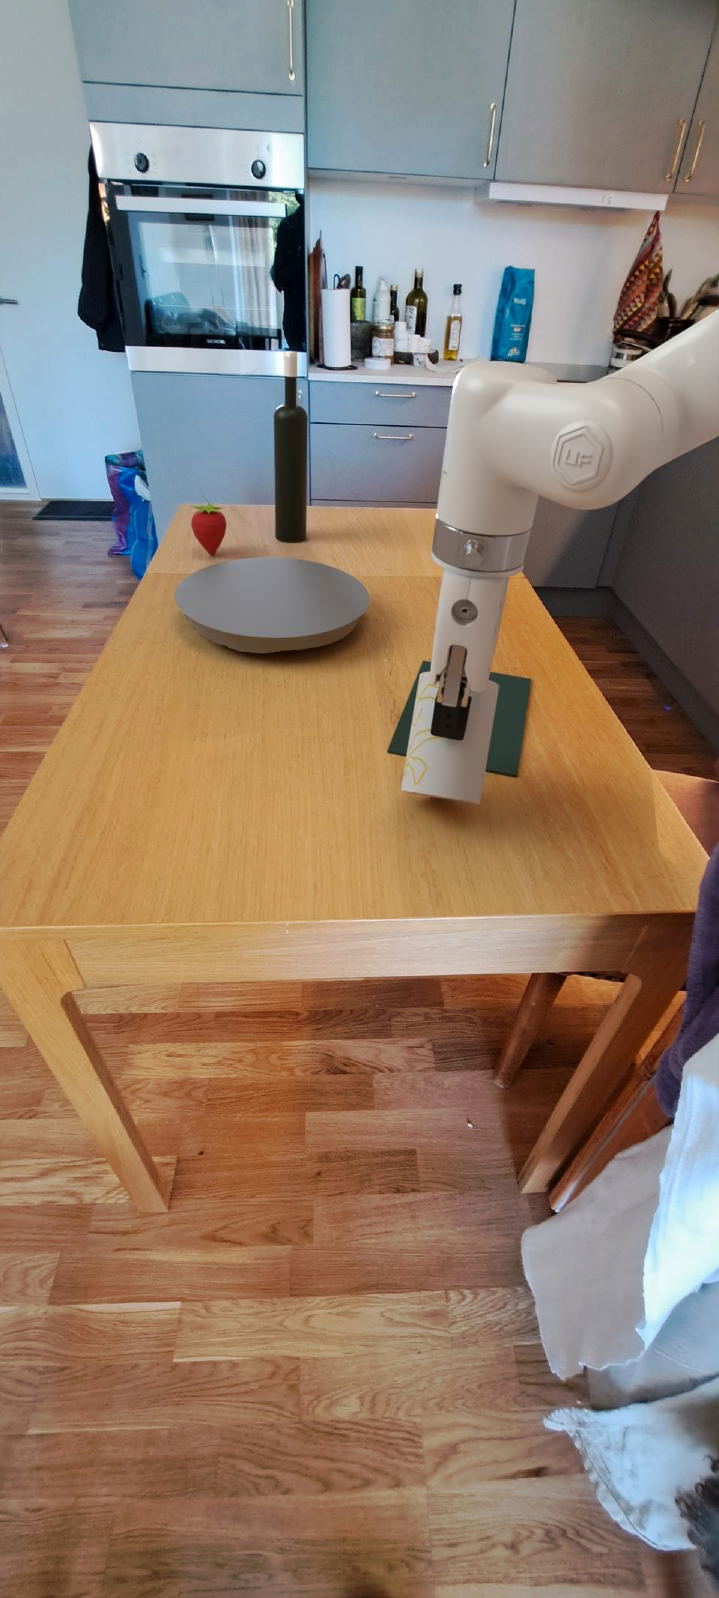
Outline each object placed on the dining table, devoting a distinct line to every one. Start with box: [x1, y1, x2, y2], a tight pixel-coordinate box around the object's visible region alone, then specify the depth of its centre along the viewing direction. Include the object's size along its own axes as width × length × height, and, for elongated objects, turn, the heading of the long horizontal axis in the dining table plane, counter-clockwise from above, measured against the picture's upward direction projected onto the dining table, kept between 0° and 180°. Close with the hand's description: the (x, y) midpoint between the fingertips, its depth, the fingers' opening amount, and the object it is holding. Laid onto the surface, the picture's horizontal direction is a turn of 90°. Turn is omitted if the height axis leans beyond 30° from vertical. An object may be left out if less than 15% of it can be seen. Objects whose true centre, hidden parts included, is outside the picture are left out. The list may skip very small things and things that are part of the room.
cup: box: [400, 672, 499, 805], centre depth 75 cm, size 8×8×12 cm
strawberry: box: [190, 495, 227, 556], centre depth 125 cm, size 6×8×10 cm
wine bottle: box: [273, 350, 309, 543], centre depth 128 cm, size 6×6×30 cm
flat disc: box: [174, 556, 370, 654], centre depth 108 cm, size 28×28×4 cm
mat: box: [386, 659, 532, 778], centre depth 92 cm, size 15×23×1 cm, turn 166°
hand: (447, 733), depth 70 cm, fingers closed
